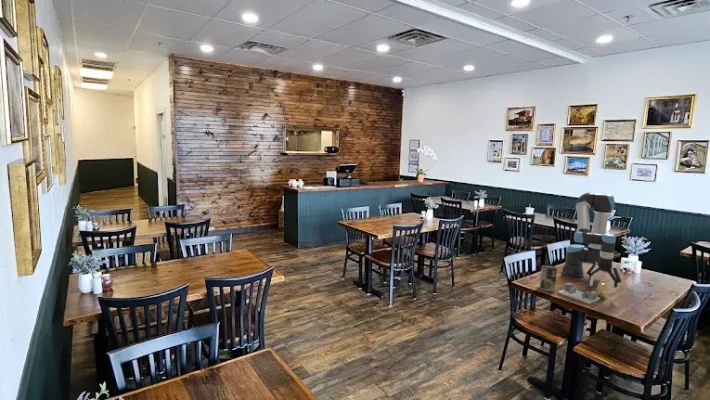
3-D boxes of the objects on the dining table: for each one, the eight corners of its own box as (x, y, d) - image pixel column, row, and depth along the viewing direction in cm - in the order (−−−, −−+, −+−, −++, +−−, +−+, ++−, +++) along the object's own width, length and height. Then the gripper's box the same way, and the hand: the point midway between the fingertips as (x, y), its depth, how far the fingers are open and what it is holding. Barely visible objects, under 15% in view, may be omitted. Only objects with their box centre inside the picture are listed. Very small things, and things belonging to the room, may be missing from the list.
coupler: (594, 296, 260) (596, 283, 259) (598, 294, 263) (600, 281, 262) (603, 298, 256) (604, 285, 254) (606, 297, 259) (608, 284, 257)
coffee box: (553, 288, 271) (555, 266, 268) (554, 291, 265) (557, 269, 262) (539, 286, 274) (541, 264, 271) (540, 289, 268) (542, 267, 265)
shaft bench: (557, 293, 263) (558, 285, 262) (568, 289, 271) (569, 281, 270) (589, 303, 247) (590, 295, 246) (599, 299, 254) (600, 291, 254)
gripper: (583, 253, 263) (579, 283, 266) (625, 263, 243) (620, 295, 246) (588, 252, 268) (585, 281, 270) (630, 261, 247) (625, 293, 250)
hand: (601, 288), depth 258 cm, fingers open, 13 cm apart
